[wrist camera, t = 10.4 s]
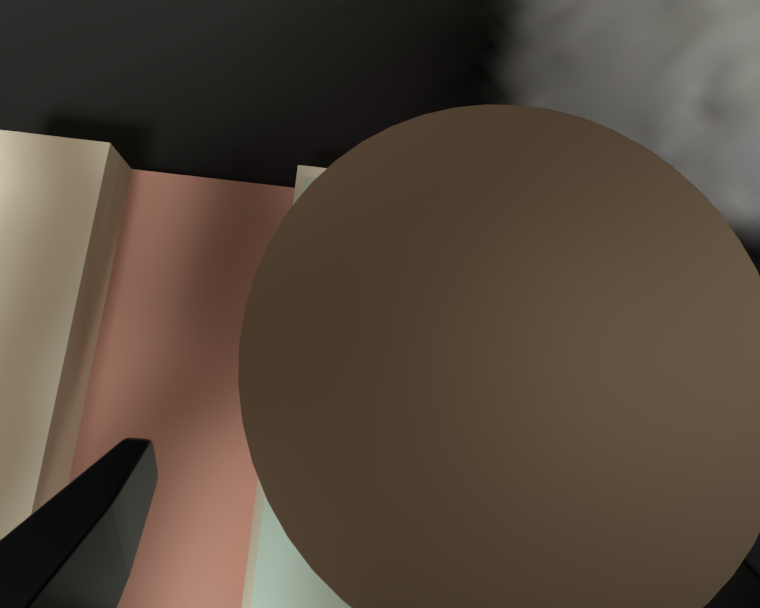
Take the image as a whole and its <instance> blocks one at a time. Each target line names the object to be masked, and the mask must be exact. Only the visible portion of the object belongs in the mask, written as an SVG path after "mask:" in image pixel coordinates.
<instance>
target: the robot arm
mask: <svg viewBox="0 0 760 608" xmlns="http://www.w3.org/2000/svg"><path fill="white" fill-rule="evenodd" d="M157 479H158V469H157V463H156V457H155V450H154V445H153V442H152V441H151V440H150V439H145V438H132V437H129V438H125V439H123V440H122V441H120V442H119V443H118V444H117V445H115V446H114V447H113V448H112V449H111V450H109V451H108V452H107V453H106V454H104V455H103V456H102V457H101V458H100V459H98V460H97V461H96V462H95V463H93V464H92V465H91V466H90V467H89V468H87V469H86V470H85V471H84V472H82V473H81V474H80V475H79V476H78V477H76V478H75V479H74V480H73V481H72V482H70V483H69V484H68V485H67V486H65V487H64V488H63V489H62V490H61V491H59V492H58V493H57V494H56V495H54V496H53V497H52V498H51V499H50V500H48V501H47V502H46V503H45V504H44V505H42V506H41V507H40V508H39V509H37V510H36V511H35V512H34V513H33V514H31V515H30V516H29V517H28V518H26V519H25V520H24V521H23V522H22V523H20V524H19V525H18V526H17V527H15V528H14V529H13V530H12V531H11V532H9V533H8V534H7V535H6V536H5V537H3V538H2V539H1V540H0V608H117V606H118V604H119V601H120V599H121V596H122V594H123V592H124V589H125V586H126V584H127V581H128V579H129V576H130V573H131V569H132V566H133V563H134V560H135V556H136V553H137V550H138V546H139V543H140V539H141V536H142V533H143V529H144V526H145V523H146V519H147V516H148V512H149V509H150V506H151V502H152V499H153V495H154V492H155V489H156V485H157ZM703 608H760V533H759V535H758V537H757V539H756V541H755V543H754V545H753V546H752V548H751V549H750V551H749V552H748V554H747V555H746V557H745V558H744V560H743V561H742V563H741V564H740V566H739V567H738V569H737V570H736V572H735V573H734V575H733V576H732V577H731V578H730V579H729V580H728V582H727V583H726V584H725V585H724V586H723V587H722V588H721V589H720V590H719V592H718V593H717V594H716V595H715V596H714V597H713V598H712V599H711V600H710V602H709V603H708V604H706V605H705V606H704V607H703Z"/></svg>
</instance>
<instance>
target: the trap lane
mask: <svg viewBox="0 0 760 608" xmlns="http://www.w3.org/2000/svg"><path fill="white" fill-rule="evenodd" d="M326 169H327V168H320V167H311V166H303V165H298V168H297V176H296V184H295V188H292V187H283V186H274V185H266V184H257V183H248V182H240V181H231V180H222V179H213V178H205V177H196V176H187V175H179V174H170V173H161V172H152V171H144V170H135V169H131V168H130V166H129V165H128V164H127V163H126V162H125V160H124V159H123V158H122V157H121V155H120V154H119V153H118V152H117V151H116V149H115V148H114V147H113V146H112V145H111V143H108V142H99V141H91V140H82V139H74V138H65V137H57V136H48V135H40V134H31V133H23V132H15V131H6V130H0V540H1V539H2V538H3V537H5V536H6V535H7V534H8V533H9V532H11V531H12V530H13V529H14V528H15V527H17V526H18V525H19V524H20V523H22V522H23V521H24V520H25V519H26V518H28V517H29V516H30V515H31V514H33V513H34V512H35V511H36V510H37V509H39V508H40V507H41V506H42V505H44V504H45V503H46V502H47V501H48V500H50V499H51V498H52V497H53V496H54V495H56V494H57V493H58V492H59V491H61V490H62V489H63V488H64V487H65V486H67V485H68V484H69V483H70V482H72V481H73V480H74V479H75V478H76V477H78V476H79V475H80V474H81V473H82V472H84V471H85V470H86V469H87V468H89V467H90V466H91V465H92V464H93V463H95V462H96V461H97V460H98V459H100V458H101V457H102V456H103V455H104V454H106V453H107V452H108V451H109V450H111V449H112V448H113V447H114V446H115V445H117V444H118V443H119V442H120V441H122V440H123V439H125V438H129V437H132V438H145V439H150V440H151V441H152V442H153V445H154V450H155V457H156V463H157V469H158V479H157V485H156V489H155V492H154V495H153V499H152V502H151V506H150V509H149V512H148V516H147V519H146V523H145V526H144V529H143V533H142V536H141V539H140V543H139V546H138V550H137V553H136V556H135V560H134V563H133V566H132V569H131V573H130V576H129V579H128V581H127V584H126V586H125V589H124V592H123V594H122V596H121V599H120V601H119V604H118V606H117V608H352V607H350V606H349V605H348V604H346V603H345V602H344V601H343V600H342V599H341V598H340V597H339V596H338V595H337V594H336V593H335V592H334V591H333V590H332V589H331V588H330V587H329V586H328V585H327V584H326V583H325V582H324V581H323V580H322V579H321V578H320V577H319V576H318V575H317V574H316V573H315V572H314V571H313V570H312V569H311V567H310V566H309V565H308V563H307V562H306V561H305V559H304V558H303V557H302V555H301V554H300V553H299V551H298V550H297V549H296V547H295V546H294V545H293V544H292V542H291V541H290V540H289V538H288V537H287V535H286V533H285V531H284V530H283V528H282V526H281V524H280V522H279V521H278V519H277V517H276V515H275V514H274V512H273V510H272V508H271V506H270V505H269V503H268V501H267V498H266V496H265V493H264V491H263V488H262V486H261V483H260V481H259V478H258V476H257V473H256V471H255V468H254V466H253V463H252V459H251V455H250V451H249V447H248V443H247V439H246V435H245V431H244V427H243V423H242V414H241V405H240V396H239V387H238V370H239V342H240V336H241V330H242V323H243V317H244V310H245V306H246V303H247V299H248V296H249V292H250V289H251V286H252V282H253V279H254V276H255V272H256V270H257V268H258V266H259V264H260V261H261V259H262V257H263V255H264V252H265V250H266V248H267V246H268V244H269V241H270V239H271V238H272V236H273V235H274V233H275V231H276V230H277V228H278V226H279V225H280V223H281V222H282V220H283V218H284V217H285V215H286V214H287V212H288V210H289V209H290V208H291V207H292V206H293V204H294V203H295V202H296V201H297V199H298V198H299V197H300V196H301V195H302V193H303V192H304V191H305V190H306V189H307V187H308V186H309V185H310V184H311V183H312V182H313V181H314V180H315V179H316V178H317V177H318V176H319V175H320V174H322V173H323V172H324V171H325V170H326Z"/></svg>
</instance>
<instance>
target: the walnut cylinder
mask: <svg viewBox="0 0 760 608" xmlns="http://www.w3.org/2000/svg"><path fill="white" fill-rule="evenodd" d="M238 387H239V396H240V405H241V414H242V423H243V427H244V431H245V435H246V439H247V443H248V447H249V451H250V455H251V459H252V463H253V466H254V468H255V471H256V473H257V476H258V478H259V481H260V483H261V486H262V488H263V491H264V493H265V496H266V498H267V501H268V503H269V505H270V506H271V508H272V510H273V512H274V514H275V515H276V517H277V519H278V521H279V522H280V524H281V526H282V528H283V530H284V531H285V533H286V535H287V537H288V538H289V540H290V541H291V542H292V544H293V545H294V546H295V547H296V549H297V550H298V551H299V553H300V554H301V555H302V557H303V558H304V559H305V561H306V562H307V563H308V565H309V566H310V567H311V569H312V570H313V571H314V572H315V573H316V574H317V575H318V576H319V577H320V578H321V579H322V580H323V581H324V582H325V583H326V584H327V585H328V586H329V587H330V588H331V589H332V590H333V591H334V592H335V593H336V594H337V595H338V596H339V597H340V598H341V599H342V600H343V601H344V602H345V603H346V604H348V605H349V606H350V607H352V608H703V607H704V606H705V605H706V604H708V603H709V602H710V600H711V599H712V598H713V597H714V596H715V595H716V594H717V593H718V592H719V590H720V589H721V588H722V587H723V586H724V585H725V584H726V583H727V582H728V580H729V579H730V578H731V577H732V576H733V575H734V573H735V572H736V570H737V569H738V567H739V566H740V564H741V563H742V561H743V560H744V558H745V557H746V555H747V554H748V552H749V551H750V549H751V548H752V546H753V545H754V543H755V541H756V539H757V537H758V535H759V533H760V276H759V274H758V272H757V270H756V268H755V266H754V264H753V262H752V261H751V259H750V257H749V256H748V254H747V252H746V250H745V249H744V247H743V245H742V244H741V242H740V240H739V239H738V237H737V236H736V234H735V233H734V232H733V230H732V229H731V228H730V226H729V225H728V224H727V222H726V221H725V220H724V218H723V217H722V216H721V214H720V213H719V212H718V210H717V209H716V208H715V207H714V206H713V205H712V204H711V203H710V202H709V201H708V200H707V199H706V198H705V197H704V195H703V194H702V193H701V192H700V191H699V190H698V189H697V188H696V187H695V186H694V185H693V184H692V183H691V182H689V181H688V180H687V179H686V178H685V177H684V176H682V175H681V174H680V173H679V172H678V171H677V170H675V169H674V168H673V167H672V166H671V165H670V164H668V163H667V162H665V161H664V160H662V159H661V158H659V157H658V156H657V155H655V154H654V153H652V152H651V151H649V150H648V149H646V148H645V147H643V146H642V145H640V144H638V143H636V142H634V141H632V140H631V139H629V138H627V137H625V136H623V135H621V134H619V133H617V132H615V131H614V130H611V129H609V128H606V127H604V126H601V125H599V124H596V123H593V122H591V121H588V120H586V119H583V118H580V117H576V116H573V115H569V114H565V113H561V112H557V111H554V110H549V109H542V108H535V107H528V106H521V105H489V104H486V105H476V106H466V107H456V108H450V109H446V110H442V111H437V112H433V113H429V114H424V115H421V116H418V117H415V118H413V119H410V120H407V121H405V122H402V123H399V124H396V125H394V126H391V127H389V128H387V129H386V130H384V131H382V132H380V133H378V134H376V135H374V136H372V137H370V138H368V139H366V140H365V141H363V142H361V143H360V144H358V145H357V146H356V147H354V148H353V149H351V150H350V151H348V152H347V153H346V154H344V155H343V156H341V157H340V158H338V159H337V160H336V161H335V162H333V163H332V164H331V165H330V166H329V167H328V168H327V169H326V170H325V171H324V172H323V173H322V174H320V175H319V176H318V177H317V178H316V179H315V180H314V181H313V182H312V183H311V184H310V185H309V186H308V187H307V189H306V190H305V191H304V192H303V193H302V195H301V196H300V197H299V198H298V199H297V201H296V202H295V203H294V204H293V206H292V207H291V208H290V209H289V210H288V212H287V214H286V215H285V217H284V218H283V220H282V222H281V223H280V225H279V226H278V228H277V230H276V231H275V233H274V235H273V236H272V238H271V239H270V241H269V244H268V246H267V248H266V250H265V252H264V255H263V257H262V259H261V261H260V264H259V266H258V268H257V270H256V272H255V276H254V279H253V282H252V286H251V289H250V292H249V296H248V299H247V303H246V306H245V310H244V317H243V323H242V330H241V336H240V342H239V370H238Z"/></svg>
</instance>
